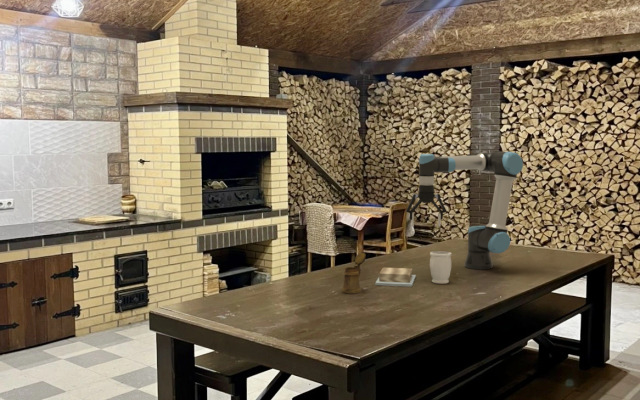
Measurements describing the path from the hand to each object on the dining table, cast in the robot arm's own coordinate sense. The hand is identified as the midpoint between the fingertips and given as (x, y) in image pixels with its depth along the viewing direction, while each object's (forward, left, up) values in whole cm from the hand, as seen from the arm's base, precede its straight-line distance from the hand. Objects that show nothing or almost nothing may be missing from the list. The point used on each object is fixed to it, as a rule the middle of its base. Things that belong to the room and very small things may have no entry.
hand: (425, 226), depth 341 cm
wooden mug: (+31, +33, -27) cm, 53 cm away
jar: (-8, +7, -27) cm, 29 cm away
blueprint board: (+14, +9, -27) cm, 32 cm away
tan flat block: (+14, +9, -26) cm, 31 cm away
